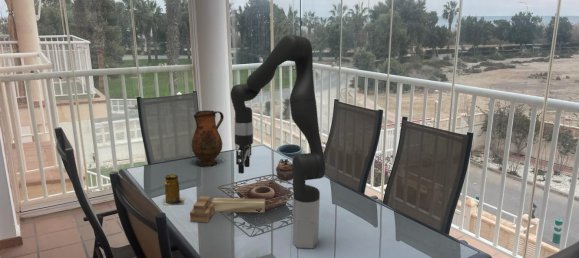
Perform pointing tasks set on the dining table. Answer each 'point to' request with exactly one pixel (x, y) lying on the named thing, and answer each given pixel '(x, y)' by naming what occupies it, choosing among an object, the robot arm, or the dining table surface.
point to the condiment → (172, 190)
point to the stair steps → (202, 210)
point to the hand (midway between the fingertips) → (244, 169)
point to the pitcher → (207, 138)
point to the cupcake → (284, 170)
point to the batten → (238, 205)
